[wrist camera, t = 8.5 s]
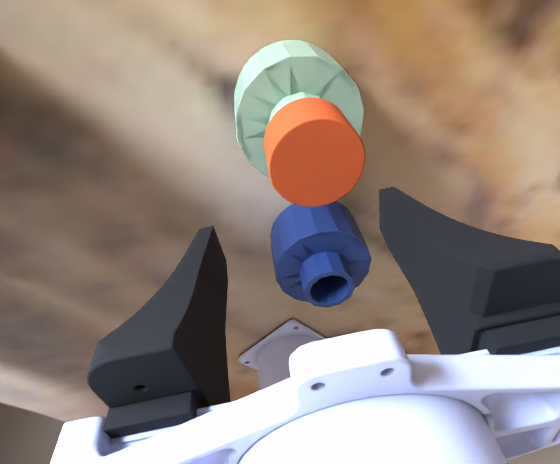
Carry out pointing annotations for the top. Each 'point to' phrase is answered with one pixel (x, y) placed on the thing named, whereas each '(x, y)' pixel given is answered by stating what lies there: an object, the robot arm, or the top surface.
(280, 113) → the bung
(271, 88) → the green ribbed hub
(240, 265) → the top surface
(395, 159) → the top surface
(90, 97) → the top surface
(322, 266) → the blue ribbed hub
